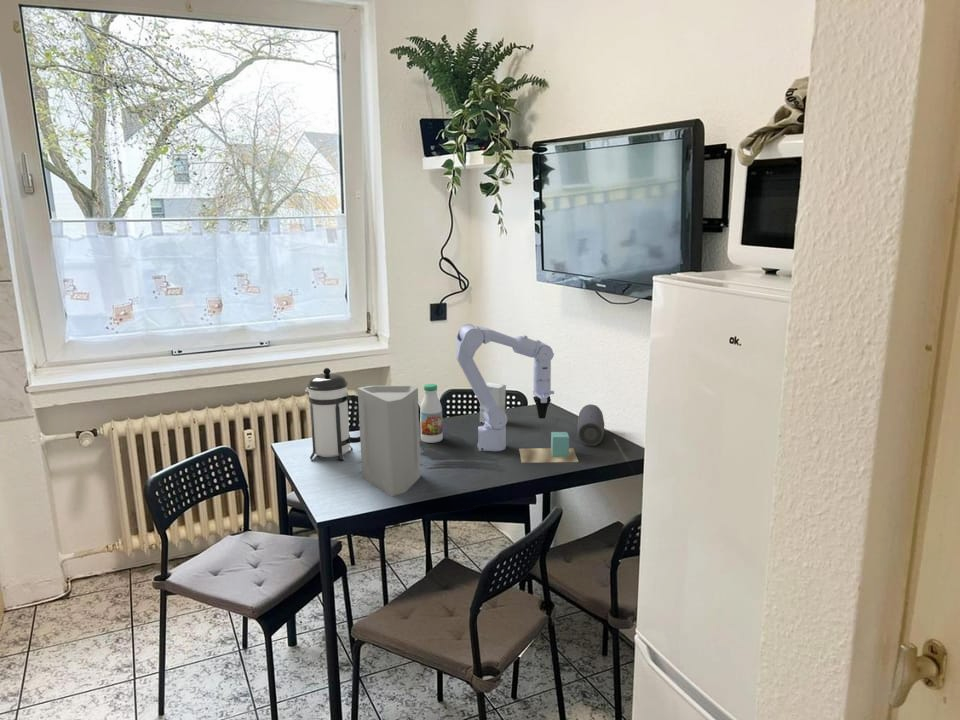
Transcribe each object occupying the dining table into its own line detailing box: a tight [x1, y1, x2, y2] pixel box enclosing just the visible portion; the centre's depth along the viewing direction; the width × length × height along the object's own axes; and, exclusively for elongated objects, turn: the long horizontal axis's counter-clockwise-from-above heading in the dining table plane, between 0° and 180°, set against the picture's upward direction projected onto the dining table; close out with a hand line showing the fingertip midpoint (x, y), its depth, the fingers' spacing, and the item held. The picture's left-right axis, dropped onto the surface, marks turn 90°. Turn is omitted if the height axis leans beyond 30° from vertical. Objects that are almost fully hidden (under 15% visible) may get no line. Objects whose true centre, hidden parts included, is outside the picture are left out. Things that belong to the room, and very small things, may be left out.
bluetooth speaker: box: [576, 403, 605, 447], centre depth 247 cm, size 23×9×10 cm, turn 171°
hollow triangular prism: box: [357, 385, 422, 497], centre depth 209 cm, size 19×15×28 cm
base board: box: [518, 447, 579, 464], centre depth 228 cm, size 18×13×2 cm
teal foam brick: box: [550, 431, 570, 457], centre depth 228 cm, size 5×5×7 cm
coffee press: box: [304, 367, 360, 463], centre depth 231 cm, size 17×16×30 cm
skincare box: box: [479, 381, 507, 424], centre depth 267 cm, size 8×6×15 cm
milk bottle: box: [419, 383, 444, 444], centre depth 246 cm, size 8×8×20 cm
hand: (541, 417), depth 238 cm, fingers closed
